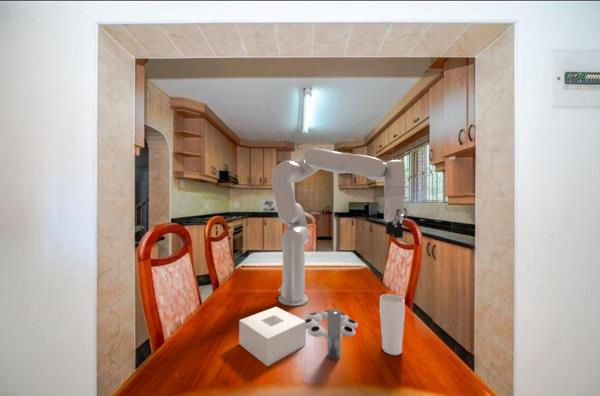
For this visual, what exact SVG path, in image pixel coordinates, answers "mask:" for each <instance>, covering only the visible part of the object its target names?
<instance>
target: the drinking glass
mask: <svg viewBox="0 0 600 396" xmlns="http://www.w3.org/2000/svg"><path fill="white" fill-rule="evenodd" d="M405 304H406V303H405V298H404V297H403V296H400V295H397V294H393V293H384V294H381V295H380V296H379V317H380V330H381V331H380V332H381V349H382V350H383V352H385V353H387V354H388V355H391V356H399V355H400V354H402V353H403V339H404V338H403V337H404V328H405V327H404V325H405V318H406V317H405V316H406V314H405V313H406V309H405Z"/></svg>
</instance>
